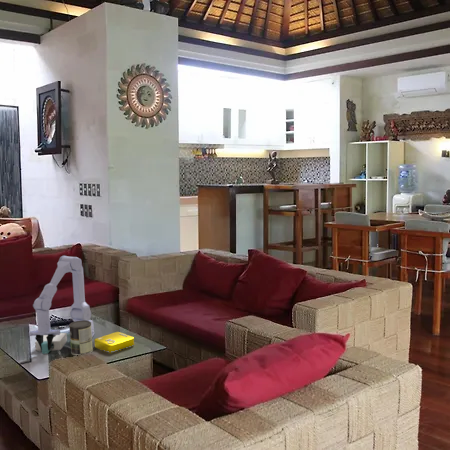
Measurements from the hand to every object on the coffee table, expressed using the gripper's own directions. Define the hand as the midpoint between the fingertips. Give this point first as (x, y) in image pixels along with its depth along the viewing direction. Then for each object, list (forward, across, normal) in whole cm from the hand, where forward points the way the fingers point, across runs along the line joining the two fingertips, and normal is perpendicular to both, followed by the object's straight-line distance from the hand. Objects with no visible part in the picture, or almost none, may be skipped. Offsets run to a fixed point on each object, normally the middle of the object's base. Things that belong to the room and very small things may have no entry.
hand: (46, 349), depth 270 cm
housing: (+2, 0, +9) cm, 9 cm away
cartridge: (+1, 0, +5) cm, 5 cm away
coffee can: (+2, +18, -1) cm, 18 cm away
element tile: (+2, +32, +6) cm, 32 cm away
